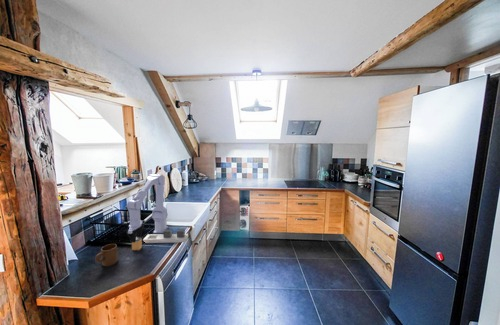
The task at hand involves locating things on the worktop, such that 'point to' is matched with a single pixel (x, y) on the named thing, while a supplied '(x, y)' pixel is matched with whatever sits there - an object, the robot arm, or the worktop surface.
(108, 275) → the worktop surface
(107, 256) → the mug
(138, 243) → the plug
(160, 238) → the pdu strip
